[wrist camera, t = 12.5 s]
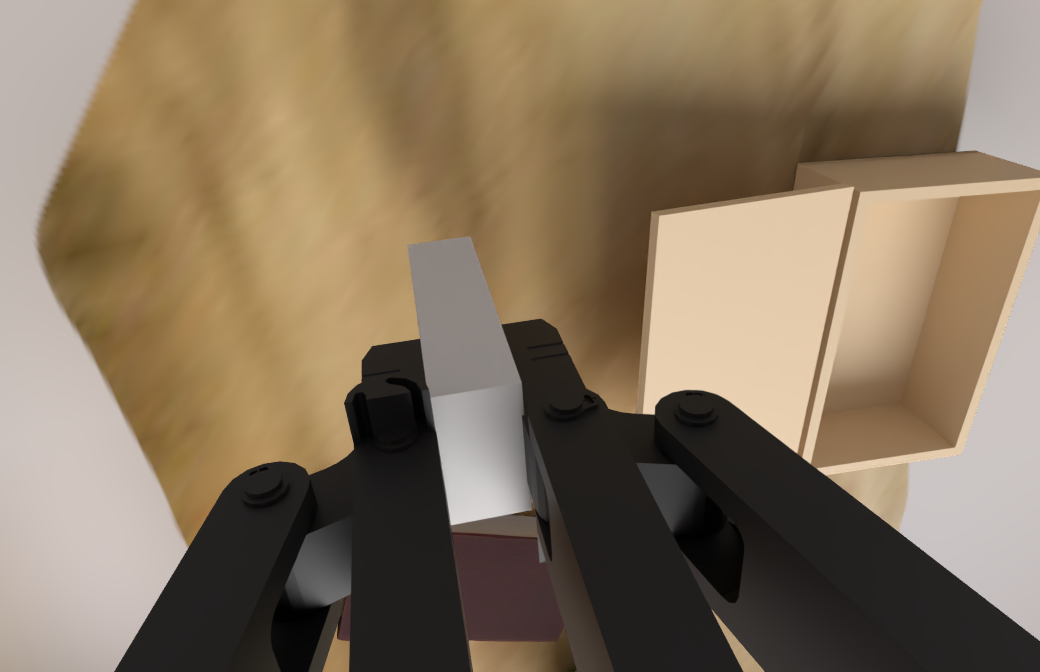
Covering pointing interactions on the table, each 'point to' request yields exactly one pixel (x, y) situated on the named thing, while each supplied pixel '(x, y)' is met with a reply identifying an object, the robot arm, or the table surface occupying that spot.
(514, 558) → the book
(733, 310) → the lid
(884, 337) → the open box
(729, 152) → the table surface
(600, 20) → the table surface
